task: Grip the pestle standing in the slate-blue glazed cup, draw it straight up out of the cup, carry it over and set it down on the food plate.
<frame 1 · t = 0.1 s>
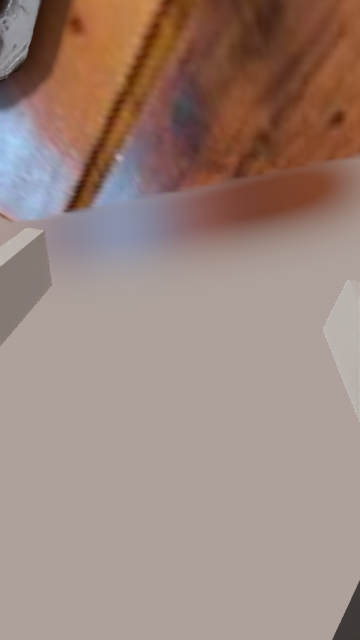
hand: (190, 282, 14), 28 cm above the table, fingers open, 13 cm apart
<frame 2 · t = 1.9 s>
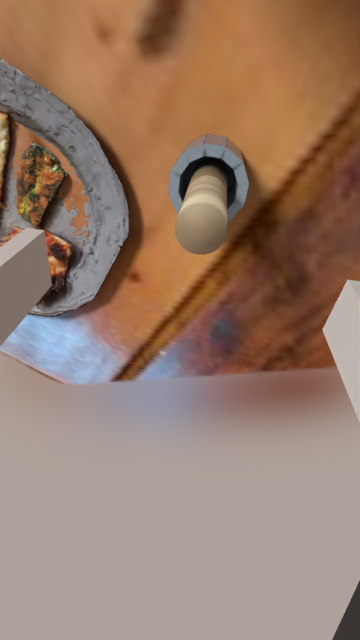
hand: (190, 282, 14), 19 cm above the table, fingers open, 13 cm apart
food plate: (15, 207, 34), on the table
cup: (210, 173, 29), on the table
pestle: (209, 175, 29), point 1 cm above the table, touching cup
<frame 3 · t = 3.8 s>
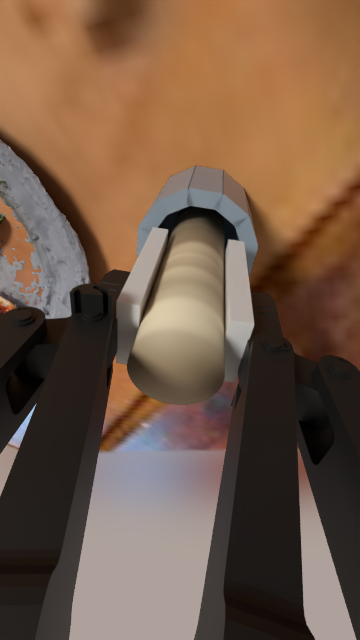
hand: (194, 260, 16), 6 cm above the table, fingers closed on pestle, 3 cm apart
cup: (201, 219, 21), on the table
pestle: (200, 223, 20), point 1 cm above the table, touching cup, gripper
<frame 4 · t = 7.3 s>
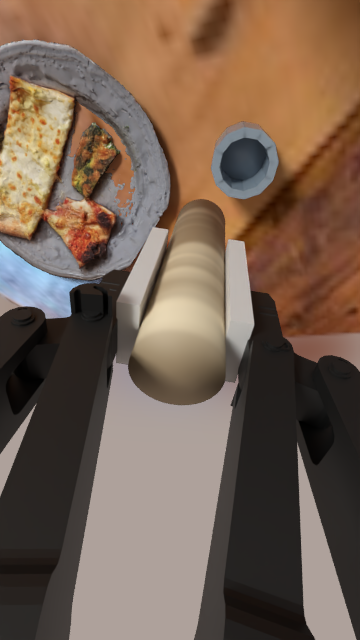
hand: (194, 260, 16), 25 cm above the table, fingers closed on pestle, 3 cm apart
food plate: (68, 180, 39), on the table
cup: (242, 155, 35), on the table
pestle: (200, 223, 20), point 19 cm above the table, touching gripper
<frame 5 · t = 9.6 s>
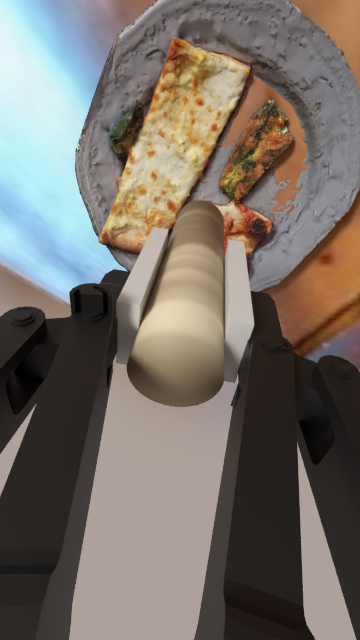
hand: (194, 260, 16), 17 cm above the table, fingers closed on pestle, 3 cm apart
food plate: (211, 179, 31), on the table
pestle: (200, 224, 20), point 12 cm above the table, touching gripper
when the fingers open (10 cm above the table, at t = 11.2 s): pestle drops 3 cm, resting on food plate.
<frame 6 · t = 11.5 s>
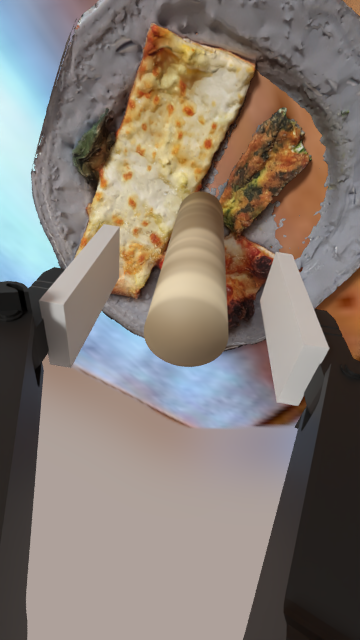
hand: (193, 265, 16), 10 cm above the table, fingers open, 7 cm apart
food plate: (205, 206, 24), on the table, touching pestle
pestle: (200, 214, 22), point 2 cm above the table, touching food plate
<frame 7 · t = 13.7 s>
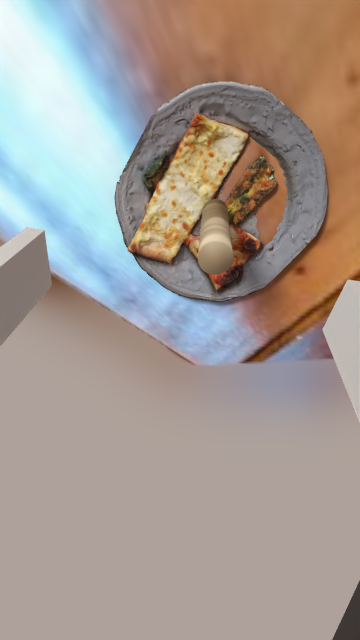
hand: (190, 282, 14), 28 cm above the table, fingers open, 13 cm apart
food plate: (216, 207, 41), on the table, touching pestle
pestle: (214, 212, 38), point 2 cm above the table, touching food plate
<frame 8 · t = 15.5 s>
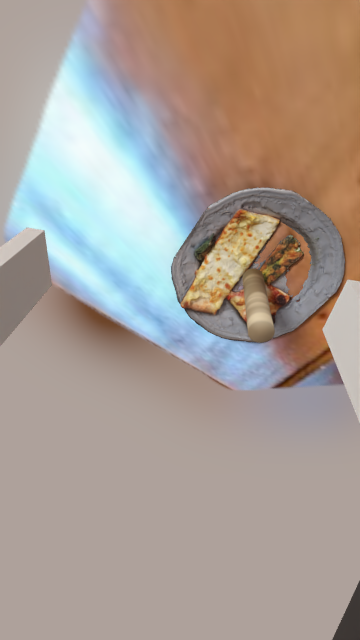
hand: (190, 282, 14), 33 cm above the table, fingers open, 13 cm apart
food plate: (252, 270, 50), on the table, touching pestle
pestle: (252, 277, 47), point 2 cm above the table, touching food plate
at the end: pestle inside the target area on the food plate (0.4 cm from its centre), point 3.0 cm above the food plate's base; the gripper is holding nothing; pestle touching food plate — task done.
